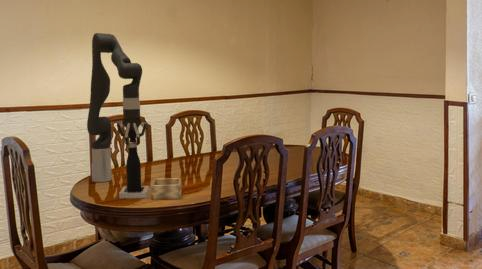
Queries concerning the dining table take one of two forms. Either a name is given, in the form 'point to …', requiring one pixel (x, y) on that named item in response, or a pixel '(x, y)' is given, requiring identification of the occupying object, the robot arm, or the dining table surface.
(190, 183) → the dining table surface
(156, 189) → the crate
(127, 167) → the wine bottle
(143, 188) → the grey square tray
